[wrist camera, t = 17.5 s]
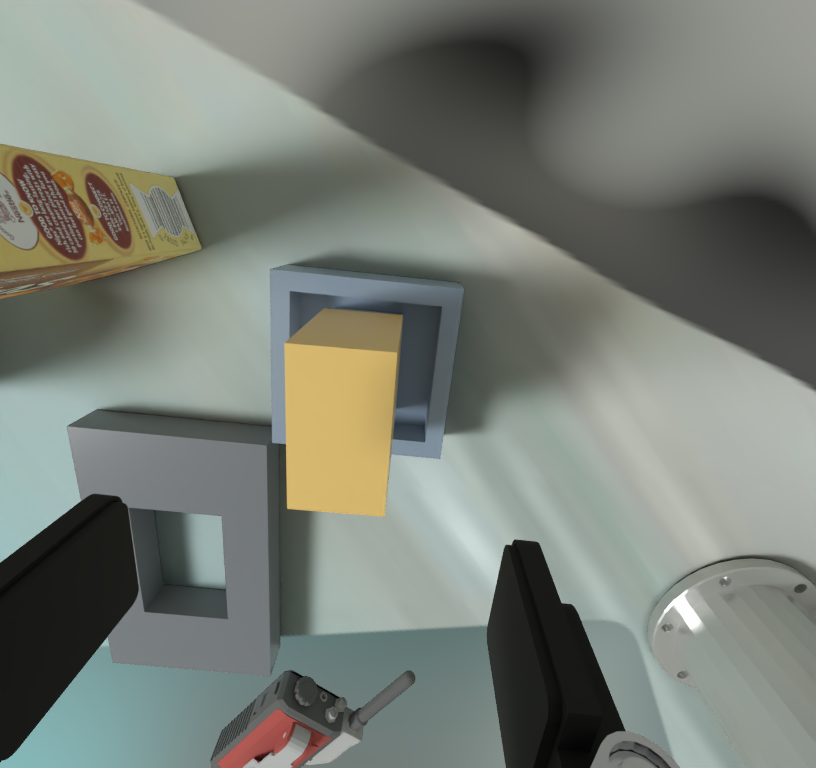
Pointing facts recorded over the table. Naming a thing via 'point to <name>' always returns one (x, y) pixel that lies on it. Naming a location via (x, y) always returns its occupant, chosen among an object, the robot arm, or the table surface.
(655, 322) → the table surface
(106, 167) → the candy box
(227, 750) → the walkie-talkie
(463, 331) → the table surface
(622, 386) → the table surface
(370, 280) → the tray
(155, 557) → the grey plate with hole
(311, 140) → the table surface
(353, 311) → the yellow rectangular block
